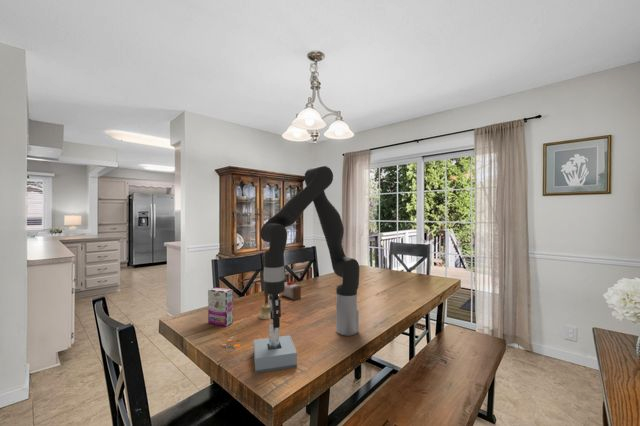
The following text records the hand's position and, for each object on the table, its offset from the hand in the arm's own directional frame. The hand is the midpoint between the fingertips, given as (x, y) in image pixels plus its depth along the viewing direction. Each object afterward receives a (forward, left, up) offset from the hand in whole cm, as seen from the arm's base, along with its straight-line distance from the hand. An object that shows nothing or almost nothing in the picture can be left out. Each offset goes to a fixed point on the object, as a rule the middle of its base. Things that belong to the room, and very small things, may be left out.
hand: (274, 322), depth 101 cm
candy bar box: (+21, -40, -14) cm, 47 cm away
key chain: (+16, -17, -14) cm, 27 cm away
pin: (0, 0, -12) cm, 12 cm away
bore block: (0, 0, -13) cm, 13 cm away
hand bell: (-1, -43, -14) cm, 45 cm away
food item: (-19, -72, -14) cm, 75 cm away
